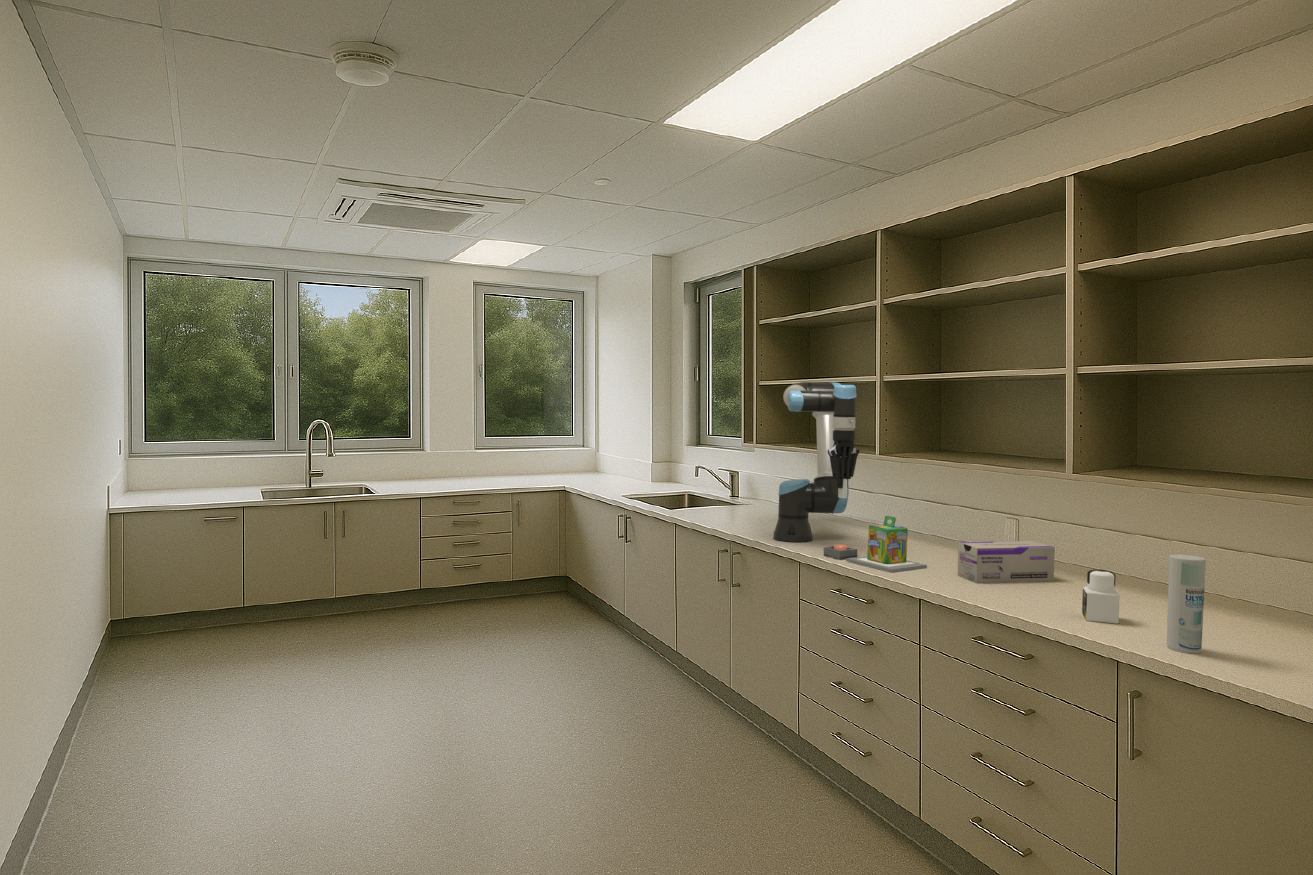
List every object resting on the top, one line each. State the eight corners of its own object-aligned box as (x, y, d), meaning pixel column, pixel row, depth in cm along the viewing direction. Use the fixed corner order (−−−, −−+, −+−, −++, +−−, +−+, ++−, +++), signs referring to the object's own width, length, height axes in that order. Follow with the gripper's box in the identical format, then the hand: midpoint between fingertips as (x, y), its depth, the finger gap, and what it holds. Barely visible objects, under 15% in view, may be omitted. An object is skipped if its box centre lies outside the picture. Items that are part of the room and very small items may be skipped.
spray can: (1182, 654, 165) (1185, 560, 164) (1158, 644, 172) (1162, 554, 171) (1209, 653, 166) (1213, 559, 165) (1185, 643, 172) (1188, 554, 172)
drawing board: (846, 561, 262) (846, 557, 262) (880, 557, 270) (880, 553, 270) (891, 572, 245) (891, 568, 245) (926, 567, 253) (926, 564, 253)
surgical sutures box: (1031, 574, 245) (1032, 541, 245) (1053, 582, 235) (1054, 547, 234) (957, 576, 242) (958, 542, 241) (976, 584, 231) (977, 548, 231)
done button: (831, 553, 271) (831, 544, 271) (840, 552, 273) (840, 543, 273) (840, 555, 267) (840, 546, 267) (849, 554, 269) (849, 545, 269)
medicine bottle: (1081, 613, 197) (1083, 566, 197) (1114, 617, 195) (1115, 569, 194) (1085, 620, 191) (1086, 572, 190) (1118, 624, 188) (1120, 574, 188)
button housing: (823, 555, 272) (823, 547, 271) (840, 553, 276) (841, 545, 275) (839, 559, 265) (840, 550, 264) (857, 557, 269) (857, 549, 268)
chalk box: (866, 559, 259) (867, 515, 259) (887, 557, 263) (888, 513, 263) (886, 564, 251) (887, 519, 250) (907, 562, 255) (908, 517, 254)
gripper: (837, 430, 262) (835, 499, 263) (865, 429, 269) (864, 498, 270) (822, 429, 269) (820, 497, 270) (850, 429, 275) (848, 495, 276)
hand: (842, 497), depth 270 cm, fingers closed
